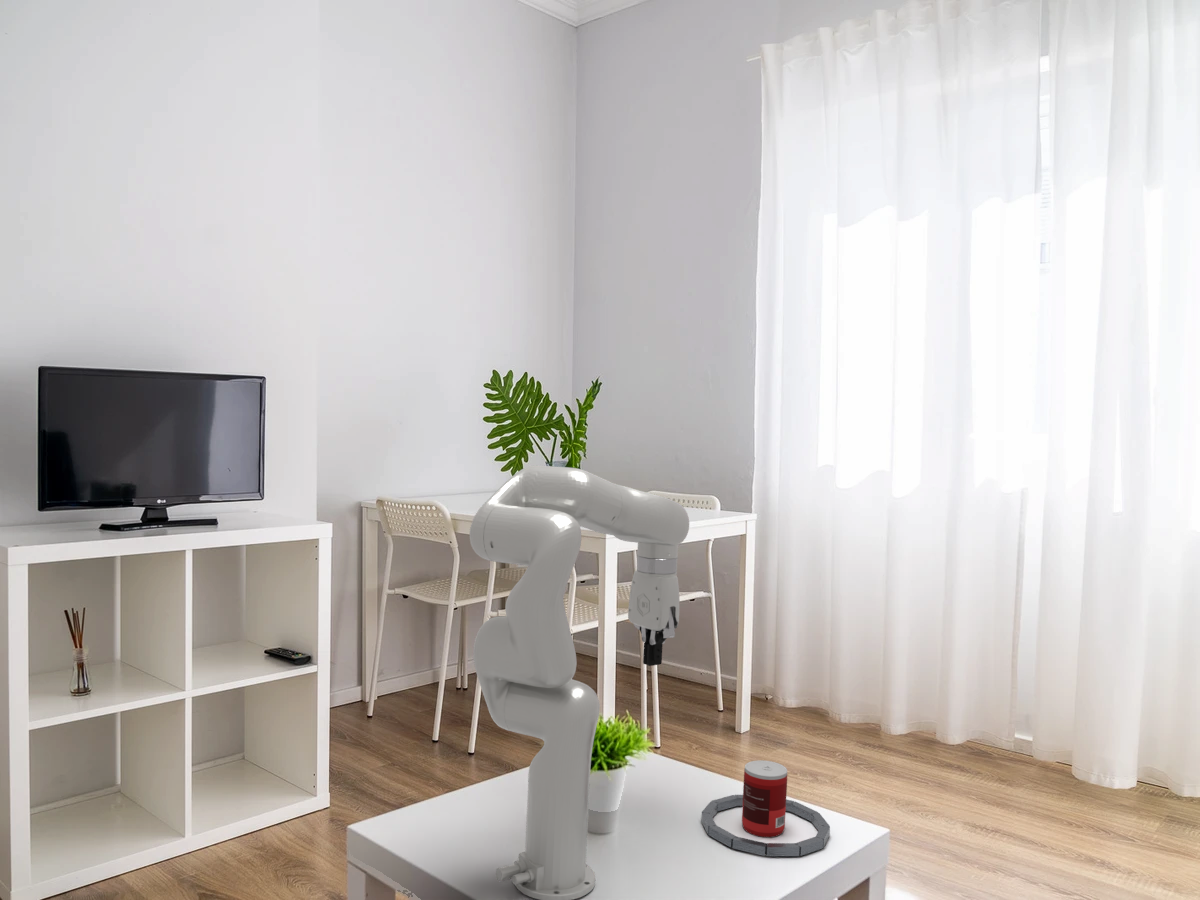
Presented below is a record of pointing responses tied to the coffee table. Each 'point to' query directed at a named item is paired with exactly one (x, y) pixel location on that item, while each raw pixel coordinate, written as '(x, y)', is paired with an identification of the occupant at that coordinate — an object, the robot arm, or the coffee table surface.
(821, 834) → the ring
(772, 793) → the canned food
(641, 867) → the coffee table surface
